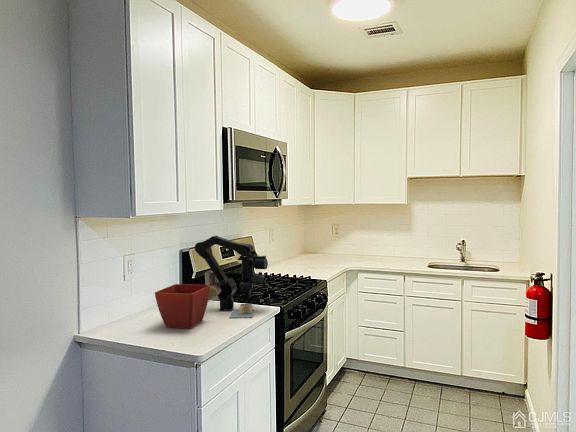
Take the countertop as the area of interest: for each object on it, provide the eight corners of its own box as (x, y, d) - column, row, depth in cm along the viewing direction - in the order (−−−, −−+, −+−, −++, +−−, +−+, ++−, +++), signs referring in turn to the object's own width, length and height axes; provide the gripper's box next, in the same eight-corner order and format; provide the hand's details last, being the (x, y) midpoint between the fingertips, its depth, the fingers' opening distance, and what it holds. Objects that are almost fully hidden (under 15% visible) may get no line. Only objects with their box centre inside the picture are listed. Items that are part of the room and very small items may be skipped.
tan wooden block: (241, 309, 217) (238, 314, 208) (240, 303, 217) (238, 308, 208) (252, 308, 217) (251, 313, 208) (252, 303, 217) (250, 308, 208)
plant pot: (176, 317, 209) (175, 283, 208) (212, 319, 204) (210, 284, 203) (155, 329, 190) (153, 292, 189) (193, 331, 185) (192, 294, 184)
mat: (229, 318, 204) (229, 317, 204) (232, 311, 216) (232, 310, 216) (252, 317, 204) (252, 316, 204) (254, 310, 216) (254, 309, 216)
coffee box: (224, 297, 245) (223, 270, 245) (221, 300, 239) (220, 272, 238) (208, 297, 246) (207, 270, 246) (205, 300, 240) (204, 272, 239)
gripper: (261, 271, 207) (262, 303, 208) (264, 265, 225) (265, 294, 226) (239, 272, 207) (240, 303, 208) (243, 265, 225) (244, 294, 226)
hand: (248, 298), depth 217 cm, fingers closed
